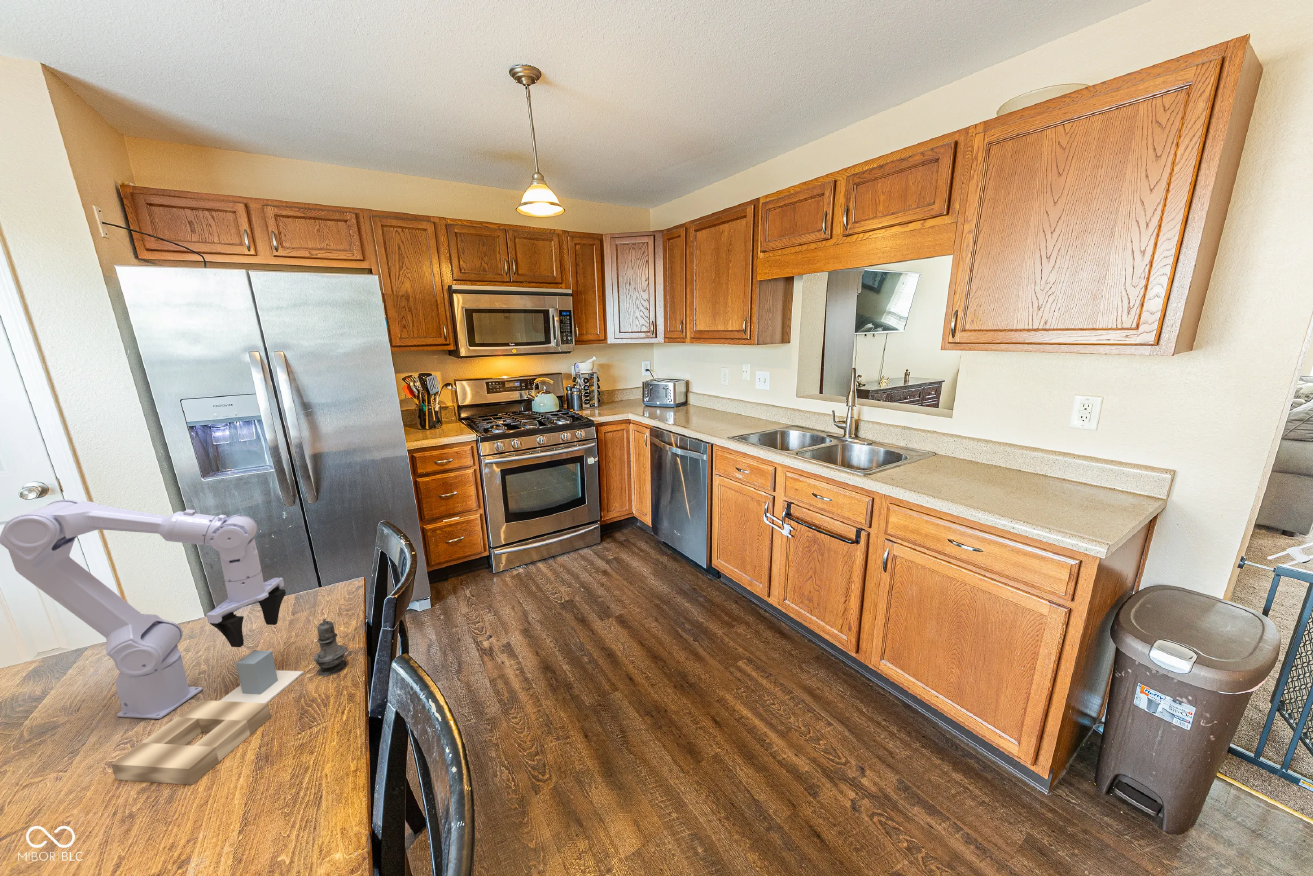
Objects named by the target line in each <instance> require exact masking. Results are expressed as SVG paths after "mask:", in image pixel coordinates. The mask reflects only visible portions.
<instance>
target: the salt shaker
mask: <svg viewBox="0 0 1313 876" xmlns="http://www.w3.org/2000/svg"><path fill="white" fill-rule="evenodd" d="M317 635H318V638H317V643H318V644H319V648H320V651H318V652H317V653H316V654H315V655H314V657H313V662H315V663H316V665H317V666H318V667H319V669H318V671H317V674H318V676H320V677H326V676H327V677H328V676H332V675H335V674H337V673H340V672H341V671H342V670H344V669H345V668H346V666H347V664H348V661H346V660H345V659H344V657H345V654H346V650H347V647H346V646H345V645H342V644H338V641H337V637H338V634H337V632H335V626H334V622H333V621H331V620H327V618H323V619H322V622H321V623H319V624H318V626H317Z"/></svg>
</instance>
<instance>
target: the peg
mask: <svg viewBox="0 0 1313 876" xmlns="http://www.w3.org/2000/svg"><path fill="white" fill-rule="evenodd" d="M235 666H236V670H237V673H238V675H237V676H238V679H239V684H240V685H241V689H242V694H262V693H263V692H264V691H265V690H267V689H268V688H269V687H271V686H272V685H273V684H274V683H276V682H277V681H278V678H277V673H276V670H277V668H276V663H275V658H274V654H273V650H259V649H257V650H256V649H255V650H253V651H252V652H250V653H248V654H247V655H245V656H244V657H242V658H241V659H240V660H238V661H237V662H236V663H235Z"/></svg>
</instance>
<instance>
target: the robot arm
mask: <svg viewBox="0 0 1313 876" xmlns="http://www.w3.org/2000/svg"><path fill="white" fill-rule="evenodd" d="M97 530H100V531H101V530H103V531H115V532H116V531H118V532H131V533H144V534H145V533H146V534H158V535H160V536H161V537H162V539H164V540H165V542H173V543H182V544H190V545H191V544H192V545H201V546H211V547H212V548H213V549H214V550H216V551H218V553H219V558H220V559H219V560H220V564H221V570H222V574H223V580H224V584H225V589H226V593H227V599H225V600H224V601H223V602H222V603H220V604H219V605H218V606H217V607H215V608H214V609H213V610H211V611H209V612H208V613H206V619H207V623H208V624H210V625H211V626H213V627H214V628H216V629H217V630H218V631H219V632H220V633H221V634H222V635H223V636H224V637H225V639H226V640H227V642H228V643H229V645H230V646H231V648H242V647H243V646H244V644H245V642H244V641H245V640H244V635H243V634H244V633H243V622H244V618H245V616H243V615H237V613H235V612H237V611H239V610H241V609H242V608H245V607H246V606H248V605H250V604H252V603H254V602H257V603H258V604H259V606H260V608H261V611H262V612H261V613H262V615H263V619H264V622H265V625H266V626H276V625H277V624H278V621H279V614H280V610H281V605H282V602H283V600H284V597H285V596H286V594H287V592H286V589H283V587H284V586H285V582H284V578H283V577H273V578H272V579H269V580H267V581H264V578H263V577H264V576H263V572H262V566H261V562H260V556H259V555H260V554H259V552H258V548H257V544H256V539H255V538H254V537H255V535H256V533H257V531H258V525H257V522H256V521H255V520H254V519H253V518H252V517H249V516H247V515H244V514H243V515H242V514H234V515H231V516H229V517H228V516H227V515H225V514H220V515H210V514H202V513H196V510H195V509H186V510H184V511H180V510H179V511H176V512H174V513H172V514H170V515H163V514H157V513H150V512H146V511H145V512H143V511H140V510H139V511H138V510H132V509H125V508H120V507H114V506H109V505H102V504H100V503H96V502H93V501H88V500H87V501H78V500H73V499H59V500H55V501H52V502H49V503H48V504H46V505H44V506H42V507H39V508H37V509H35V510H32V511H29V512H26V513H24V514H19V515H17V516H14V517H12V518H11V519H9V520H8V521H7V522H6V523H5V524H4V526H3V528H2V531H1V532H0V545H1V546H2V547H4V548H5V549H7V550H8V553H9V556H10V559H11V562H12V564H13V567H14V569H15V571H16V572H17V573H18V574H19V575H20V576H22V577H23V578H25V579H26V580H27V581H29V583H31V584H33V586H35V587H36V588H38V589H39V590H40V591H42V592H43V593H44V594H45V595H46V596H49V597H50V598H51V599H52V600H53V601H55V602H57V603H58V604H59V605H61V606H62V607H64V608H65V609H66V610H67V611H69V612H70V613H72V614H73V615H74V616H75V617H77V618H78V619H80V620H81V621H83V622H84V624H86V625H88V626H89V627H91V628H92V629H93V630H95V632H97V633H99V634H100V635H101V636H103V637H104V639H106V646H105V653H106V655H107V656H108V657H110V658H111V659H112V661H113V663H114V665H115V668H116V671H117V670H118V672H119V673H118V675H117V677H116V679H115V688H116V692H117V696H118V699H119V703H120V708H121V711H119V712H118V713H117V714H116V716H117V717H118V718H119V717H121V718H136V719H138V718H139V719H154V720H155V719H157V720H159V719H162V718H164V717H165V716H166V715H168V714H169V713H171V712H172V711H174V710H175V709H177V708H178V707H179V706H181V705H182V704H184V703H185V702H187V701H188V700H190V699H191V698H193V697H194V696H196V695H197V694H199V693H200V692H202V691H203V687H200V686H190V685H189V682H188V677H187V674H186V669H185V666H184V661H183V657H182V653H181V650H180V649H179V646H178V644H179V643H180V641H182V638H183V636H184V631H183V629H182V627H181V626H180V625H179V624H178V623H177V622H174V621H170V620H166V619H163V618H162V617H160V616H159V615H157V614H152V613H151V614H150V613H149V614H148V613H141V611H139V610H137V609H136V608H135V607H134V606H132V605H131V604H130V603H129V602H127V600H125V599H124V598H122V597H121V596H120V595H118V594H117V593H116V592H115V591H113V590H112V589H111V588H110V587H108V586H107V585H106V584H105V583H104V582H102V581H101V580H99V579H98V578H97V577H96V576H94V575H93V574H92V573H90V571H88V570H87V569H86V568H84V567H83V566H82V565H81V564H79V563H78V562H77V561H76V560H74V559H73V558H72V557H70V555H71V551H72V548H73V546H74V543H75V540H76V538H77V537H78V536H81V535H85V534H87V533H91V532H94V531H97Z"/></svg>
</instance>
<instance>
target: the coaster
mask: <svg viewBox="0 0 1313 876" xmlns="http://www.w3.org/2000/svg"><path fill="white" fill-rule="evenodd" d="M276 673H277V678H278V681H277V682H276V683H274V684H273V685H272V686H271V687H269V688H268V689H267V690H265V691H264V692H263V693H262V694H242V689H241V684H240V685H238V686H237V687H236V688H235V689H233V690H232V691H230V692H229V693H228V694H226V695H225V696H224V697H222V698H221V699H219V701H230V702H250V703H268V704H269V703H270V702H271V701H272V700H273V699H275V698H276V697H277V696H278V695H279V694H280V693H282V692H283V691H284V690H285V689H286V688H288V687H289V686H290V685H291V684H293V683H294V682H295V681H296V680H298V678H300V677H301V676H302V675H303V674H304V673H305V672H304V670H303V671H302V670H300V671H299V670H280V669H279V670H277V669H276Z"/></svg>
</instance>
